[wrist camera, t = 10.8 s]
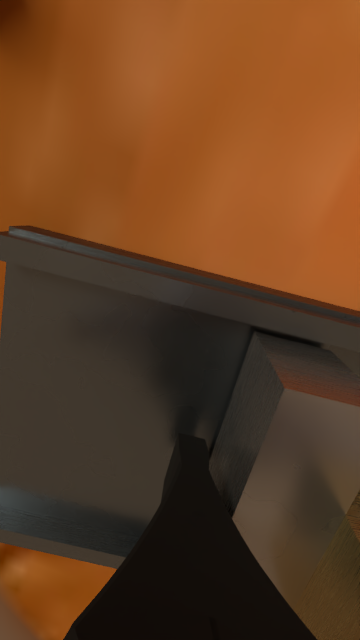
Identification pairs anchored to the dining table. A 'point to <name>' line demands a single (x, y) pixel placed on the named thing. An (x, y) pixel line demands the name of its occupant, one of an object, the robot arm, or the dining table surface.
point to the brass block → (336, 585)
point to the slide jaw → (289, 456)
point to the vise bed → (121, 381)
